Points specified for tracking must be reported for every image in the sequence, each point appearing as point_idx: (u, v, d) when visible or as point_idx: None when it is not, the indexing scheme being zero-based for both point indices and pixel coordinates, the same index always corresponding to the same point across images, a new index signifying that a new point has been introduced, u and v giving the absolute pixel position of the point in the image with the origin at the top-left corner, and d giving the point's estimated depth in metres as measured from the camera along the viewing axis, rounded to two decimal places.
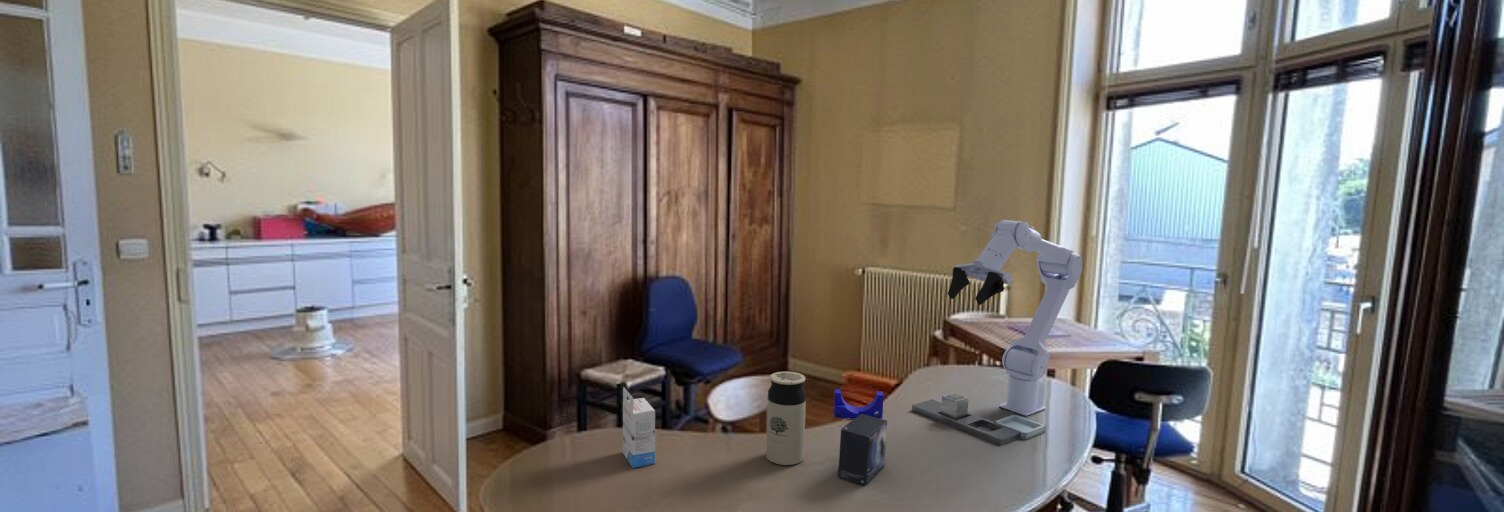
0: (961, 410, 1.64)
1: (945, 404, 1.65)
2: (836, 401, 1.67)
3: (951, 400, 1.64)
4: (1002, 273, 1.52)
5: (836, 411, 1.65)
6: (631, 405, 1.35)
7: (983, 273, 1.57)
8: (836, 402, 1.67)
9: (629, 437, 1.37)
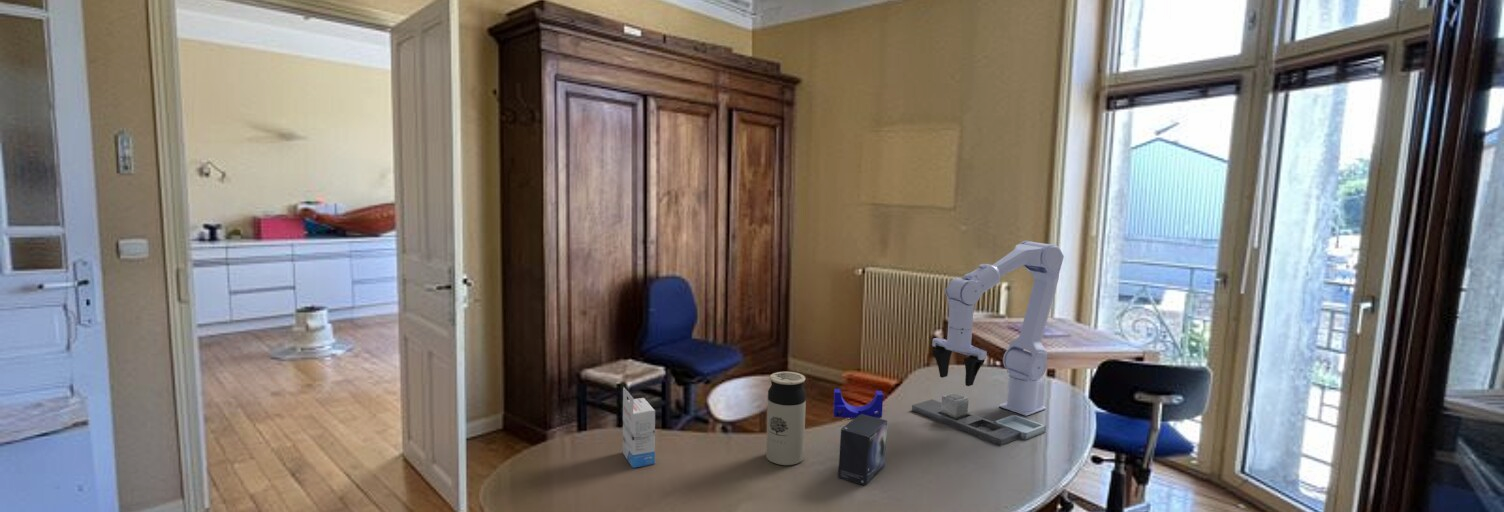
0: (961, 410, 1.64)
1: (945, 404, 1.65)
2: (836, 401, 1.67)
3: (951, 400, 1.64)
4: (976, 353, 1.58)
5: (836, 410, 1.66)
6: (631, 405, 1.35)
7: None
8: (836, 402, 1.67)
9: (629, 437, 1.37)
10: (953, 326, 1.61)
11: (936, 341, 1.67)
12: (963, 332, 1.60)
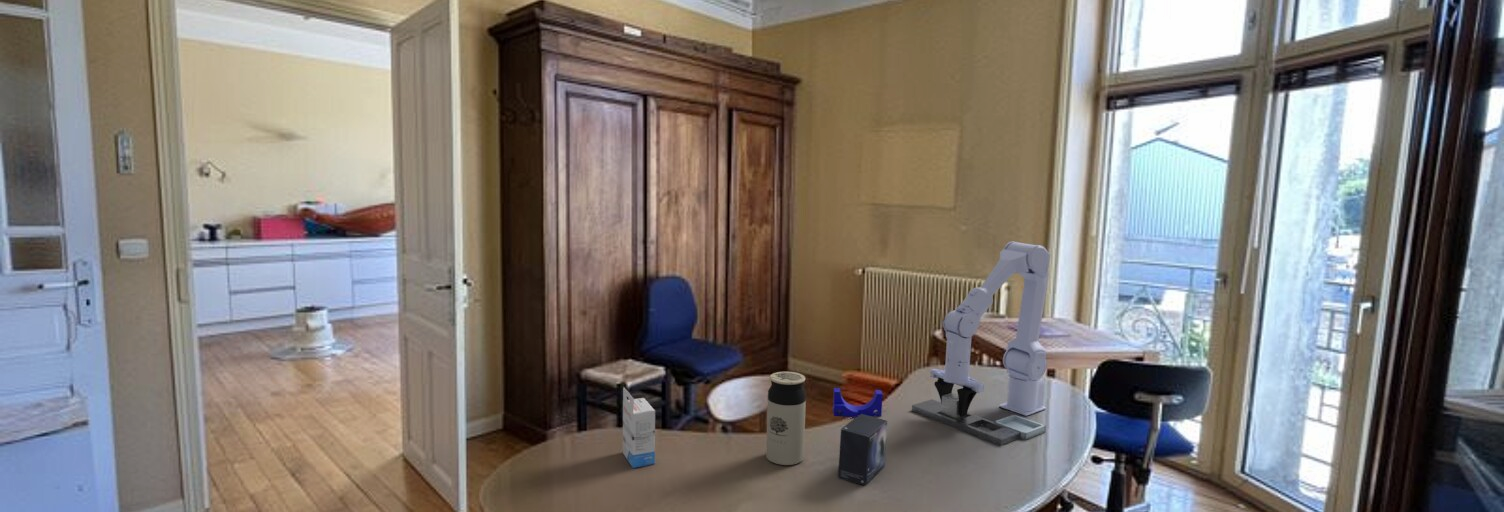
0: None
1: (945, 404, 1.65)
2: (835, 400, 1.67)
3: (951, 400, 1.64)
4: (973, 386, 1.59)
5: (836, 410, 1.66)
6: (631, 405, 1.35)
7: None
8: (835, 401, 1.67)
9: (629, 437, 1.37)
10: (951, 358, 1.62)
11: (934, 372, 1.69)
12: (961, 365, 1.61)
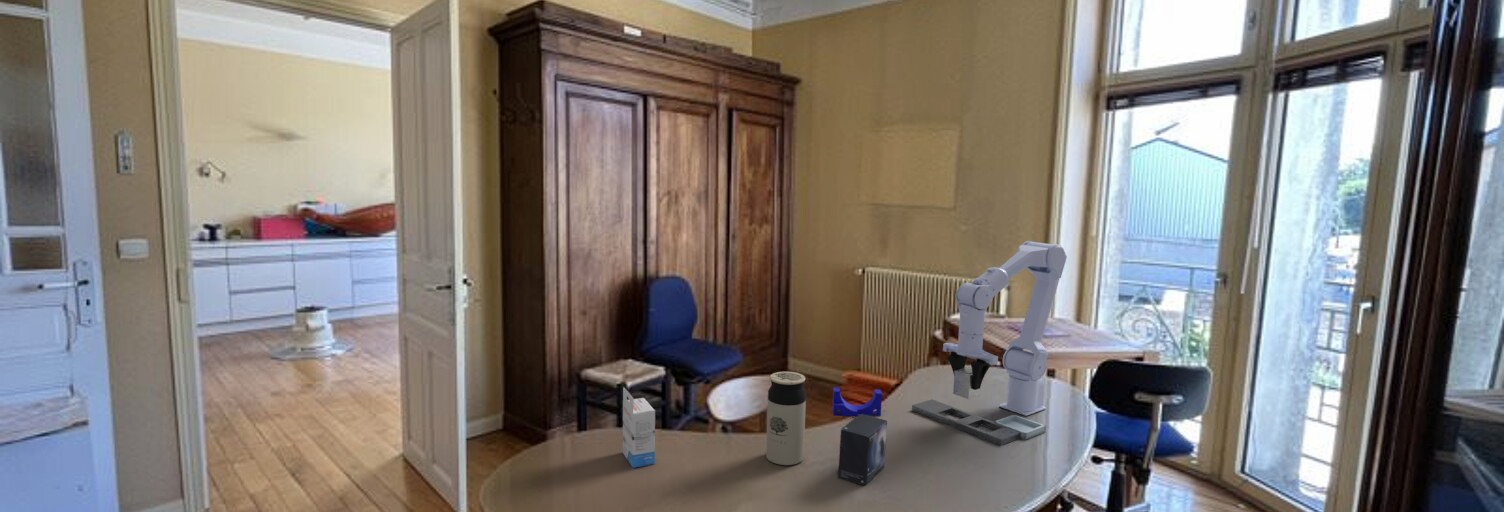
0: None
1: (958, 379, 1.63)
2: (835, 399, 1.68)
3: (964, 374, 1.62)
4: (987, 358, 1.58)
5: (835, 409, 1.67)
6: (631, 405, 1.35)
7: None
8: (835, 400, 1.68)
9: (629, 437, 1.37)
10: (965, 331, 1.60)
11: (947, 346, 1.67)
12: (974, 337, 1.59)
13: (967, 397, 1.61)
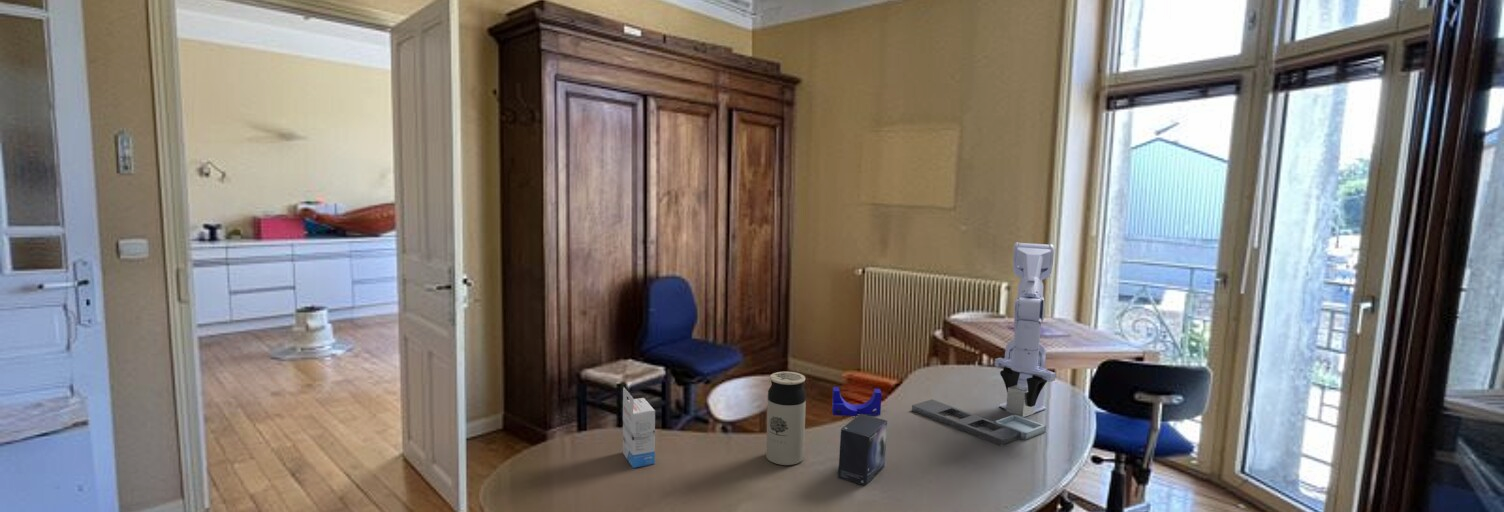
0: None
1: (1012, 396, 1.59)
2: (835, 399, 1.68)
3: (1018, 392, 1.57)
4: (1044, 375, 1.53)
5: (835, 409, 1.67)
6: (631, 405, 1.35)
7: None
8: (835, 400, 1.68)
9: (629, 437, 1.37)
10: (1029, 348, 1.55)
11: (999, 361, 1.62)
12: (1030, 353, 1.55)
13: (1021, 415, 1.57)
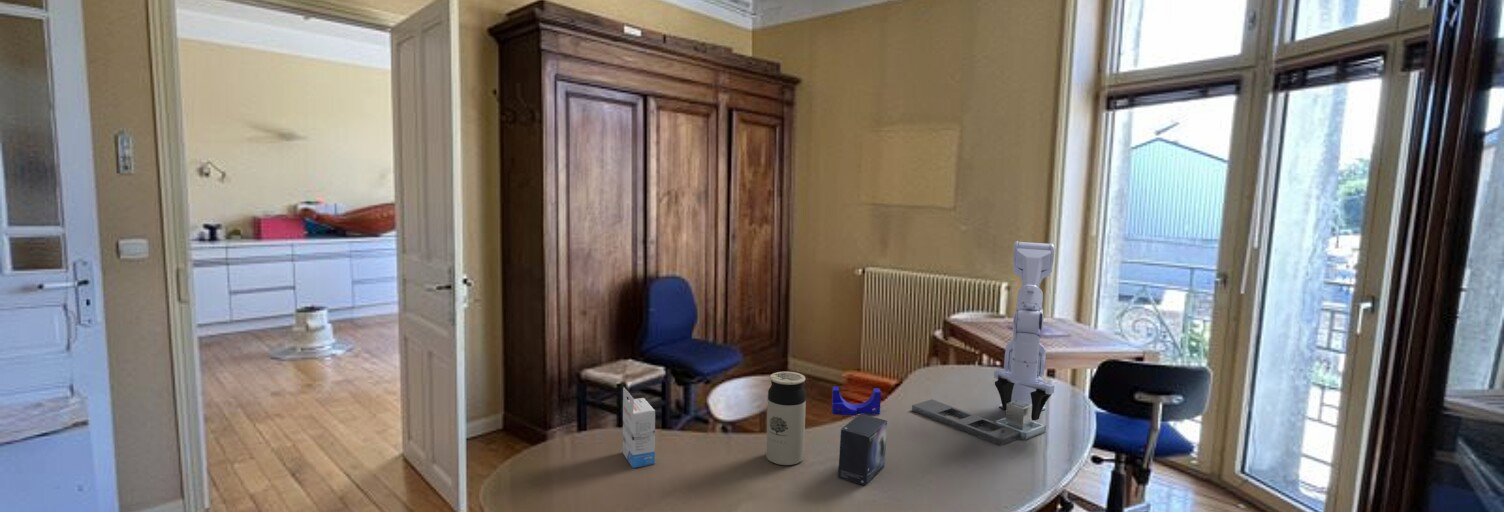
0: (1027, 418, 1.58)
1: (1011, 412, 1.59)
2: (834, 398, 1.69)
3: (1017, 408, 1.58)
4: (1043, 387, 1.54)
5: (834, 408, 1.67)
6: (631, 405, 1.35)
7: None
8: (834, 399, 1.69)
9: (629, 437, 1.37)
10: (1028, 360, 1.55)
11: (998, 373, 1.63)
12: (1029, 365, 1.55)
13: None
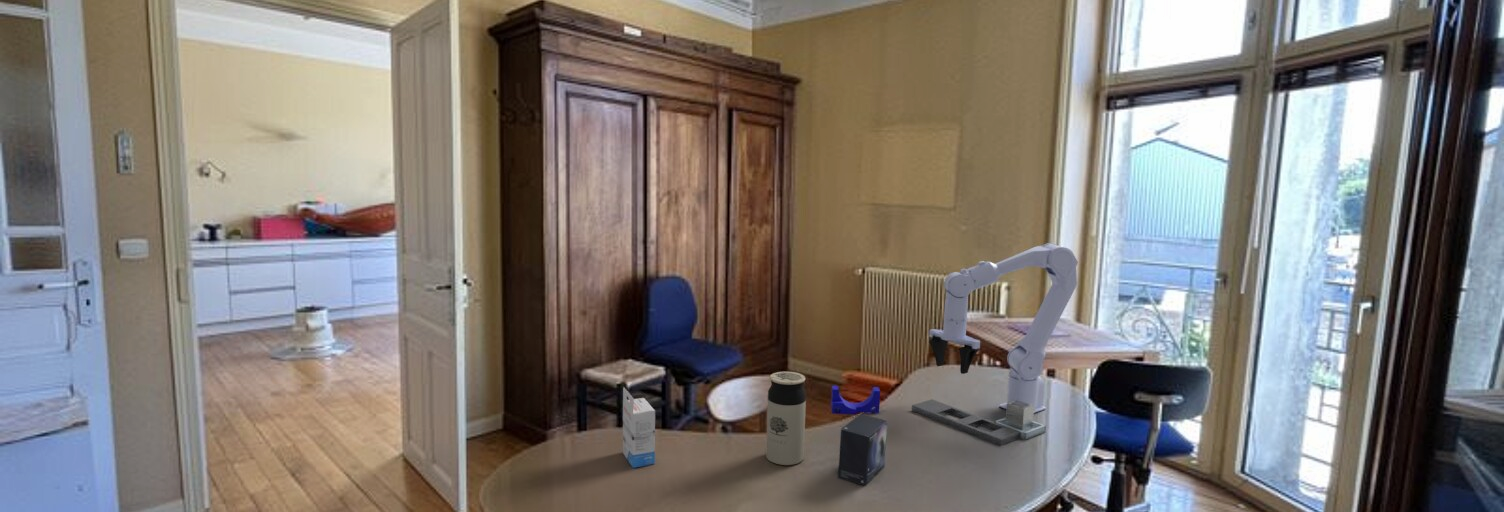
0: (1027, 418, 1.58)
1: (1011, 412, 1.59)
2: (834, 397, 1.69)
3: (1017, 408, 1.58)
4: (970, 343, 1.68)
5: (834, 407, 1.68)
6: (631, 405, 1.35)
7: None
8: (834, 398, 1.69)
9: (629, 437, 1.37)
10: (945, 316, 1.72)
11: (933, 332, 1.78)
12: (958, 323, 1.70)
13: None
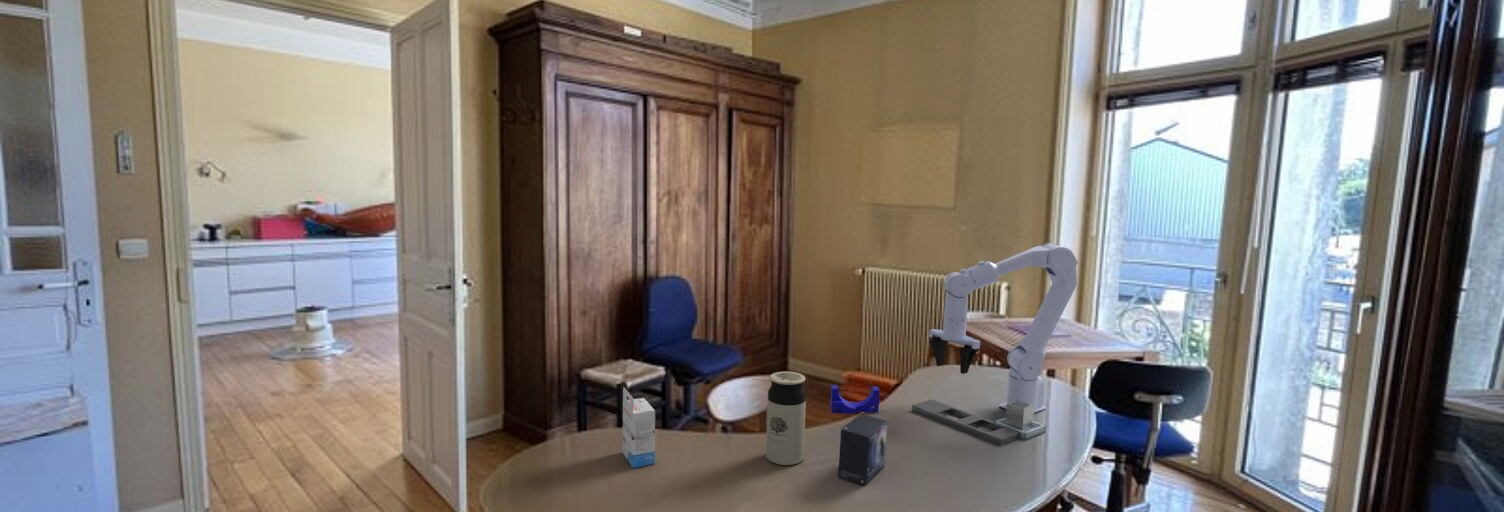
0: (1027, 418, 1.58)
1: (1011, 412, 1.59)
2: (833, 397, 1.70)
3: (1017, 408, 1.58)
4: (970, 343, 1.68)
5: (834, 406, 1.68)
6: (631, 405, 1.35)
7: None
8: (833, 398, 1.70)
9: (629, 437, 1.37)
10: (945, 316, 1.72)
11: (933, 332, 1.78)
12: (958, 323, 1.70)
13: None
